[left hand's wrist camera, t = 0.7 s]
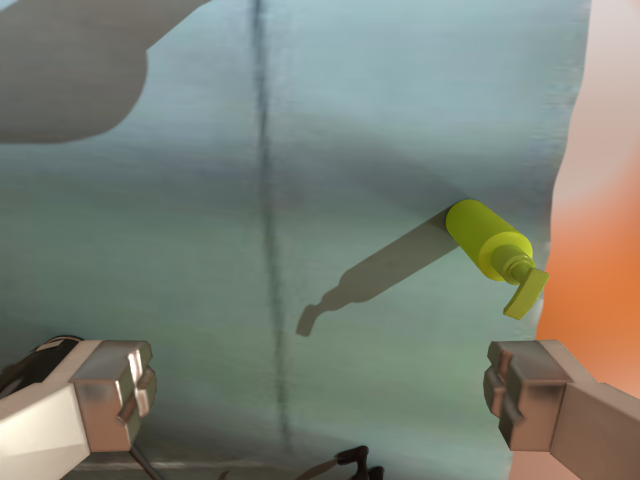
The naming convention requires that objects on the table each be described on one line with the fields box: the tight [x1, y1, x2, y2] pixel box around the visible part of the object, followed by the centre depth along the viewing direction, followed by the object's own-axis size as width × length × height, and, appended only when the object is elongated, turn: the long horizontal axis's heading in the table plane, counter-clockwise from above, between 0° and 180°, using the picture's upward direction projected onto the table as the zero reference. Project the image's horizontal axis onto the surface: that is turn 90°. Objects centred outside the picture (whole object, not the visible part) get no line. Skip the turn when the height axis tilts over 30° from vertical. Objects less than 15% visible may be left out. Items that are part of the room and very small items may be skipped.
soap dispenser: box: [446, 199, 550, 320], centre depth 50 cm, size 6×7×20 cm
